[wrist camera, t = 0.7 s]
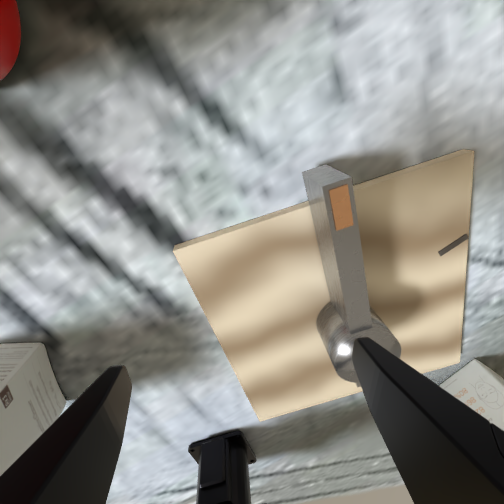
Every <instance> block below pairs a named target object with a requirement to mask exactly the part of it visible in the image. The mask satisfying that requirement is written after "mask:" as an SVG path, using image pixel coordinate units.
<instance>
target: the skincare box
mask: <svg viewBox="0 0 504 504" xmlns="http://www.w3.org/2000/svg"><path fill="white" fill-rule="evenodd" d="M65 404H66V400H65V398H64V395H63V394H62V393H61V390H60V388H59V386H58V383H57V381H56V379H55V376H54V373H53V371H52V368H51V365H50V362H49V359H48V356H47V352H46V348H45V345H44V344H42V343H7V344H0V476H1V475H2V474H3V473H4V472H5V471H6V470H7V469H8V468H9V467H10V466H11V465H12V464H13V463H14V462H15V461H16V460H17V459H18V458H19V457H20V456H21V455H22V454H23V453H24V452H25V451H26V450H27V449H28V448H29V447H30V446H31V445H32V444H33V443H34V442H35V441H36V440H37V439H38V438H39V437H40V436H41V435H42V434H43V433H44V432H45V431H46V430H47V429H48V428H49V427H50V426H51V425H52V424H53V423H54V422H55V421H56V420H57V419H58V417H59V416H60V414H61V412H62V411H63V409H64V407H65Z"/></svg>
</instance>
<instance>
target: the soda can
mask: <svg viewBox="0 0 504 504" xmlns="http://www.w3.org/2000/svg"><path fill="white" fill-rule="evenodd" d="M20 42H21V23H20V16H19V10H18V6H17V2H16V0H0V81H1V80H2V79H4V78H5V77H6V76H7V74H8V73H9V72H10V71H11V69H12V67H13V66H14V64H15V61H16V59H17V56H18V53H19V49H20Z"/></svg>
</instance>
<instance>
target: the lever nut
mask: <svg viewBox="0 0 504 504" xmlns="http://www.w3.org/2000/svg"><path fill="white" fill-rule="evenodd" d="M302 174H303V179H304V183H305V188H306V192H307V197H308V201H309V206H310V211H311V215H312V220H313V224H314V229H315V233H316V238H317V242H318V247H319V251H320V256H321V260H322V265H323V269H324V274H325V278H326V283H327V287H328V292H329V296H330V301H331V302H329V303H328V304H327V305H325V306H324V307H323V309H322V310H321V311H320V313H319V314H318V316H317V320H316V327H317V330H318V333H319V335H320V337H321V339H322V342H323V344H324V346H325V348H326V351H327V353H328V355H329V357H330V360H331V362H332V364H333V366H334V368H335V371H336V373H337V374H338V376H339V377H341V378H342V379H344V380H346V381H349V382H354V383H355V384H356V386H357V388H358V387H361V385H360V382H359V379H358V376H357V374H356V371H355V368H354V365H353V362H352V352H353V346H354V341H355V339H356V338H361V337H369V338H371V339H372V340H374V341H375V342H377V343H378V344H379V345H381V346H382V347H384V348H385V349H387V350H388V351H389V352H391V353H392V354H394V355H395V356H397V357H398V358H400V356H401V345H400V343H399V342H398V340H397V339H396V338H395V336H394V335H393V334H392V333H391V331H390V330H389V329H388V327H387V326H386V325H385V324H384V322H383V321H382V320H381V318H380V317H379V316H378V315H377V313H376V312H375V311H374V309H373V308H372V307H371V306H370V304H369V298H368V291H367V284H366V277H365V269H364V262H363V255H362V248H361V240H360V233H359V226H358V219H357V212H356V204H355V197H354V190H353V183H352V177H351V176H349V175H347V174H345V173H343V172H341V171H339V170H336V169H334V168H332V167H330V166H328V165H326V164H325V165H322V166H319V167H316V168H313V169H310V170H307V171H304V172H302Z"/></svg>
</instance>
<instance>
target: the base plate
mask: <svg viewBox="0 0 504 504" xmlns="http://www.w3.org/2000/svg"><path fill="white" fill-rule="evenodd" d="M473 165H474V151H472V150H465V149H462V150H459V151H456V152H453V153H450V154H447V155H444V156H441V157H438V158H435V159H432V160H429V161H426V162H423V163H420V164H417V165H414V166H411V167H408V168H405V169H402V170H399V171H396V172H393V173H390V174H387V175H384V176H381V177H378V178H375V179H372V180H369V181H366V182H363V183H360V184H357V185H354V186H353V190H354V197H355V204H356V212H357V219H358V226H359V233H360V240H361V248H362V255H363V262H364V269H365V277H366V284H367V291H368V298H369V304H370V306H371V307H372V308H373V309H374V311H375V312H376V313H377V315H378V316H379V317H380V318H381V320H382V321H383V322H384V324H385V325H386V326H387V327H388V329H389V330H390V331H391V333H392V334H393V335H394V336H395V338H396V339H397V340H398V342H399V343H400V345H401V356H400V359H401V360H402V361H404V362H405V363H407V364H408V365H410V366H411V367H412V368H414V369H415V370H417V371H418V372H420V373H421V374H423V373H426V372H430V371H433V370H436V369H440V368H443V367H447V366H450V365H453V364H457V363H460V352H461V338H462V323H463V309H464V295H465V280H466V266H467V251H468V237H469V222H470V208H471V193H472V179H473ZM173 252H174V254H175V256H176V258H177V260H178V262H179V264H180V266H181V268H182V270H183V272H184V274H185V276H186V278H187V280H188V282H189V284H190V286H191V288H192V290H193V292H194V294H195V296H196V297H197V299H198V301H199V303H200V305H201V307H202V309H203V311H204V313H205V315H206V317H207V319H208V321H209V323H210V325H211V327H212V329H213V331H214V333H215V335H216V337H217V339H218V341H219V343H220V345H221V347H222V348H223V350H224V352H225V354H226V356H227V358H228V360H229V362H230V364H231V366H232V368H233V370H234V372H235V374H236V376H237V378H238V380H239V382H240V384H241V386H242V388H243V390H244V392H245V394H246V396H247V397H248V399H249V401H250V403H251V405H252V407H253V409H254V411H255V413H256V415H257V417H258V419H259V421H264V420H267V419H271V418H274V417H277V416H281V415H284V414H288V413H291V412H294V411H298V410H301V409H304V408H308V407H311V406H315V405H318V404H321V403H325V402H328V401H332V400H335V399H338V398H342V397H345V396H348V395H352V394H355V393H359V392H362V391H363V390H362V388H361V387H358V388H357V386H356V384H355V383H354V382H349V381H346V380H344V379H342V378H341V377H339V376H338V374H337V373H336V371H335V368H334V366H333V364H332V362H331V360H330V357H329V355H328V353H327V351H326V348H325V346H324V344H323V342H322V339H321V337H320V335H319V333H318V330H317V327H316V320H317V316H318V314H319V313H320V311H321V310H322V309H323V307H324V306H325V305H327V304H328V303H329V302H331V301H330V296H329V292H328V287H327V283H326V278H325V274H324V269H323V265H322V260H321V256H320V251H319V247H318V242H317V238H316V233H315V229H314V224H313V220H312V215H311V211H310V206H309V201H306V202H303V203H300V204H297V205H294V206H291V207H288V208H285V209H282V210H279V211H276V212H273V213H270V214H267V215H264V216H261V217H258V218H255V219H252V220H249V221H246V222H243V223H240V224H237V225H234V226H231V227H228V228H225V229H222V230H219V231H216V232H213V233H210V234H207V235H204V236H201V237H198V238H195V239H192V240H189V241H186V242H183V243H180V244H177V245H175V247H174V249H173Z"/></svg>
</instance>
